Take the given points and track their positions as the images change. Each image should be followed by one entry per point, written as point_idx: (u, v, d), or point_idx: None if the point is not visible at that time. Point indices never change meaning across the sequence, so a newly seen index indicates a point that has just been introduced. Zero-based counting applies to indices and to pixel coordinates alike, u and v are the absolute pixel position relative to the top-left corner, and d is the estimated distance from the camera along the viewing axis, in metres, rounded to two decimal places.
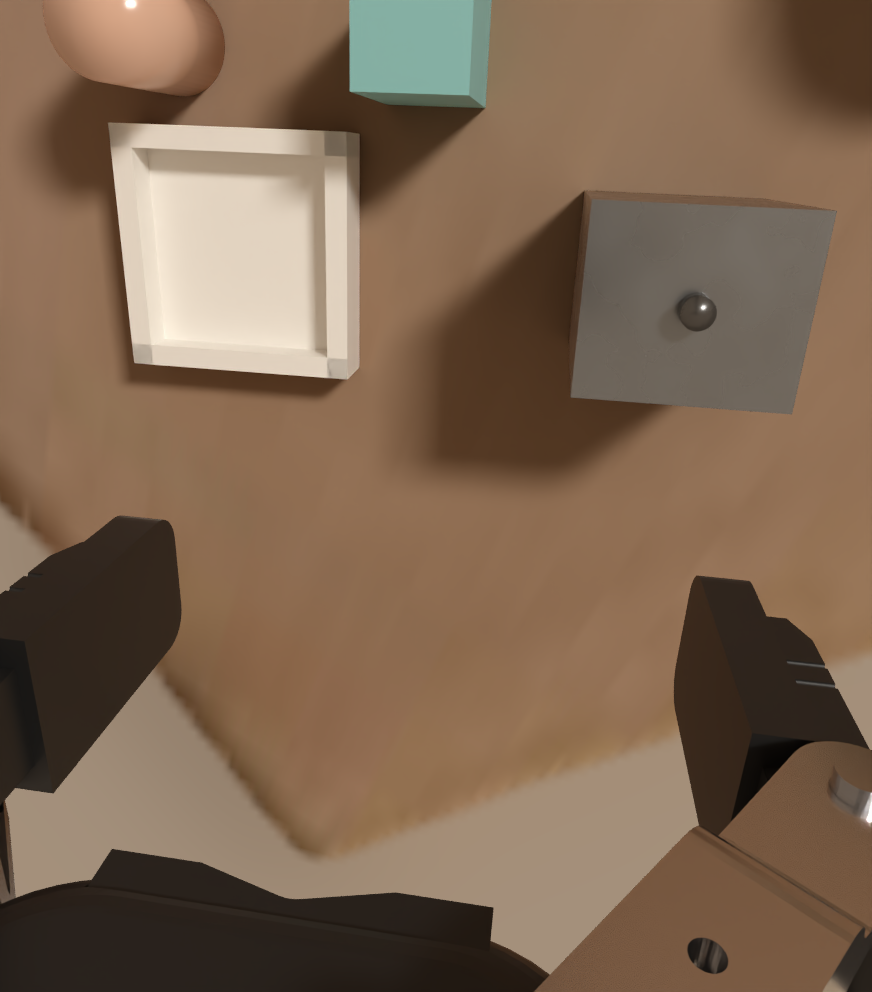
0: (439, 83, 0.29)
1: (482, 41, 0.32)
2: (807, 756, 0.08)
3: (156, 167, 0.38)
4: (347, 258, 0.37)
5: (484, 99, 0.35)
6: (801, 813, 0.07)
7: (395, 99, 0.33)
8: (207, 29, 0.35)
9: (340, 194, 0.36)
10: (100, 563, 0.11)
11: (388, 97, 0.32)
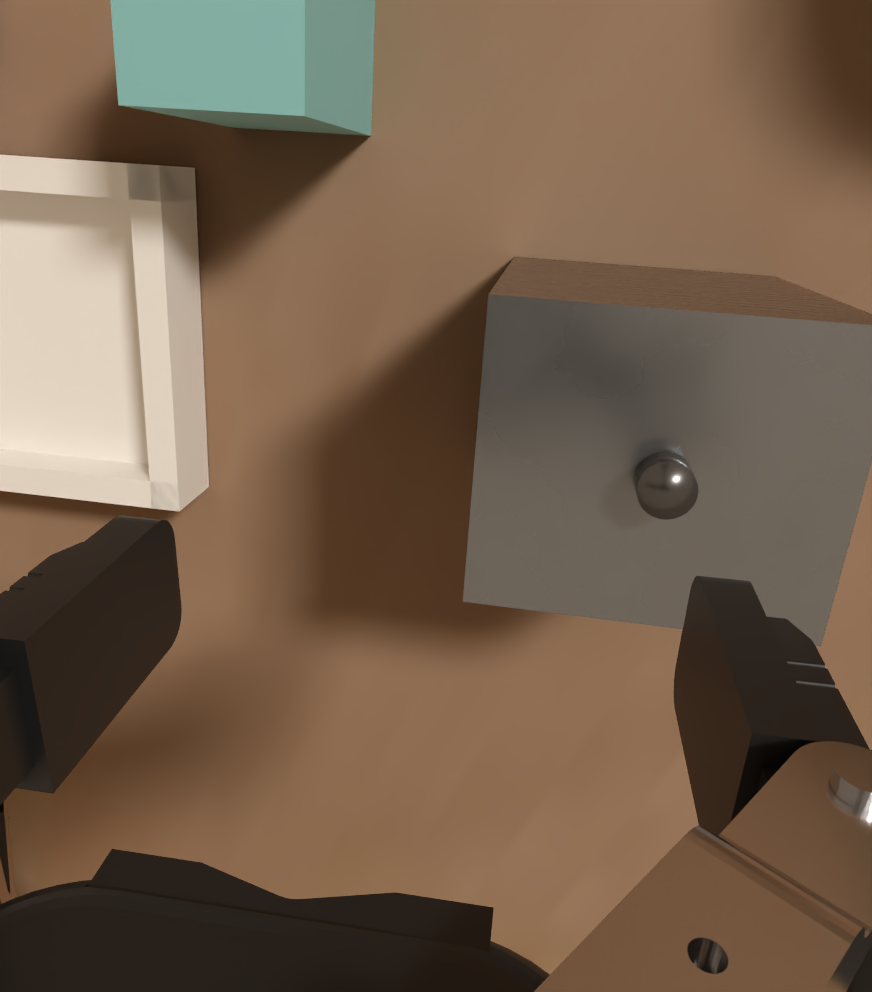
0: (257, 96, 0.18)
1: (349, 35, 0.21)
2: (807, 756, 0.08)
3: None
4: (171, 345, 0.25)
5: (366, 123, 0.24)
6: (801, 812, 0.07)
7: (220, 120, 0.22)
8: None
9: (154, 256, 0.24)
10: (100, 563, 0.11)
11: (202, 116, 0.21)
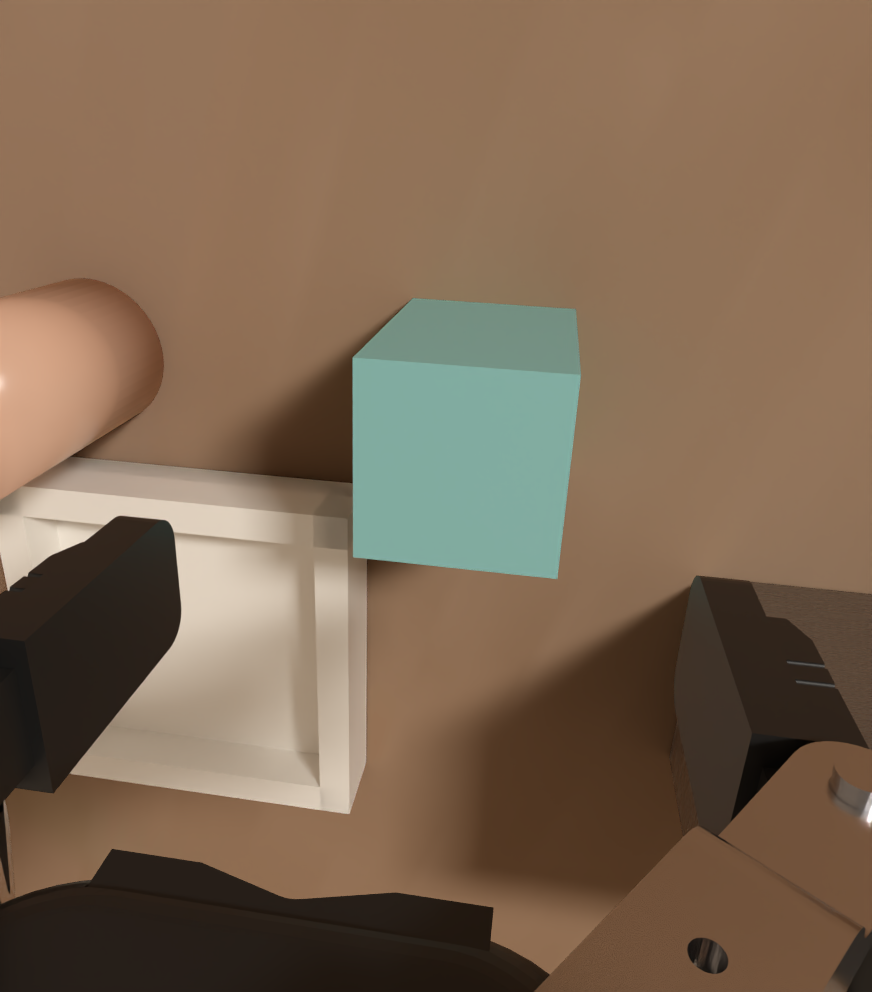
0: (506, 558, 0.17)
1: None
2: (806, 756, 0.08)
3: (67, 521, 0.26)
4: (349, 672, 0.25)
5: None
6: (801, 813, 0.07)
7: None
8: (132, 361, 0.22)
9: (338, 597, 0.23)
10: (100, 563, 0.11)
11: None
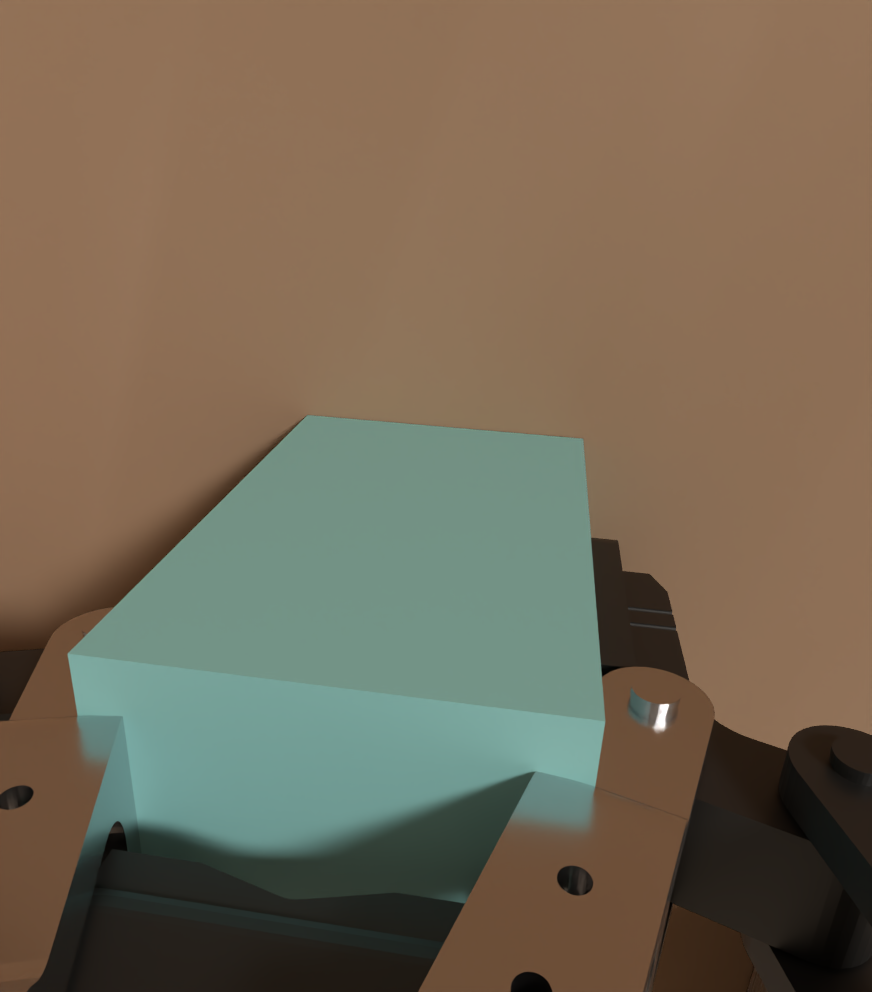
0: None
1: None
2: (608, 686, 0.08)
3: None
4: None
5: None
6: None
7: None
8: None
9: None
10: None
11: None
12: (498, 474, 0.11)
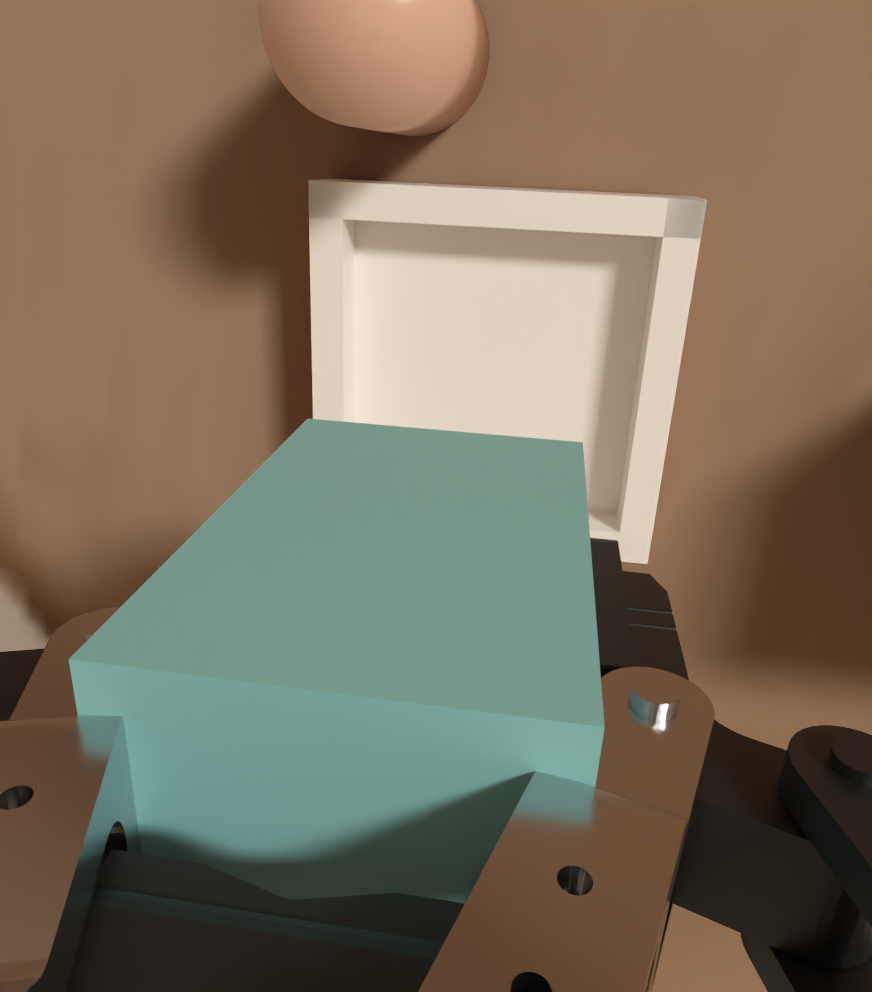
0: None
1: None
2: (607, 684, 0.08)
3: (367, 245, 0.25)
4: (674, 391, 0.24)
5: None
6: None
7: None
8: (483, 33, 0.21)
9: (680, 297, 0.22)
10: None
11: None
12: (498, 478, 0.11)
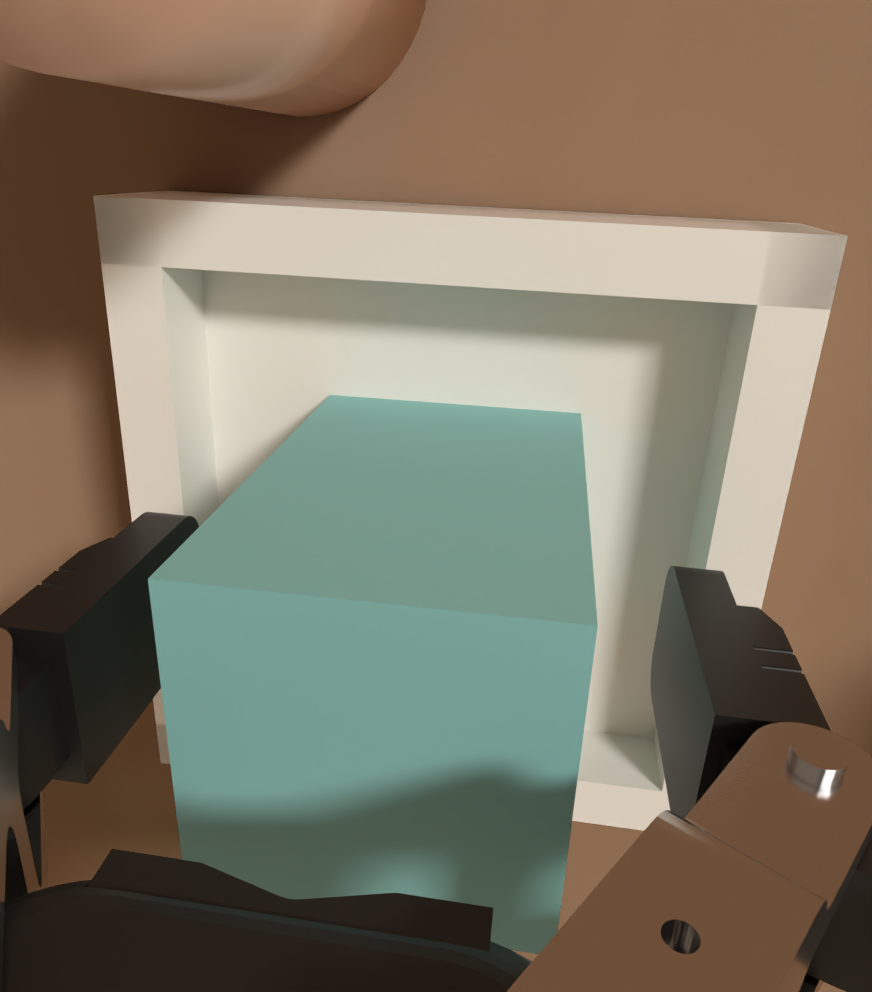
0: None
1: None
2: (764, 738, 0.08)
3: (225, 306, 0.14)
4: (766, 574, 0.13)
5: None
6: (756, 789, 0.07)
7: None
8: None
9: (785, 415, 0.12)
10: (131, 558, 0.11)
11: None
12: (505, 442, 0.12)
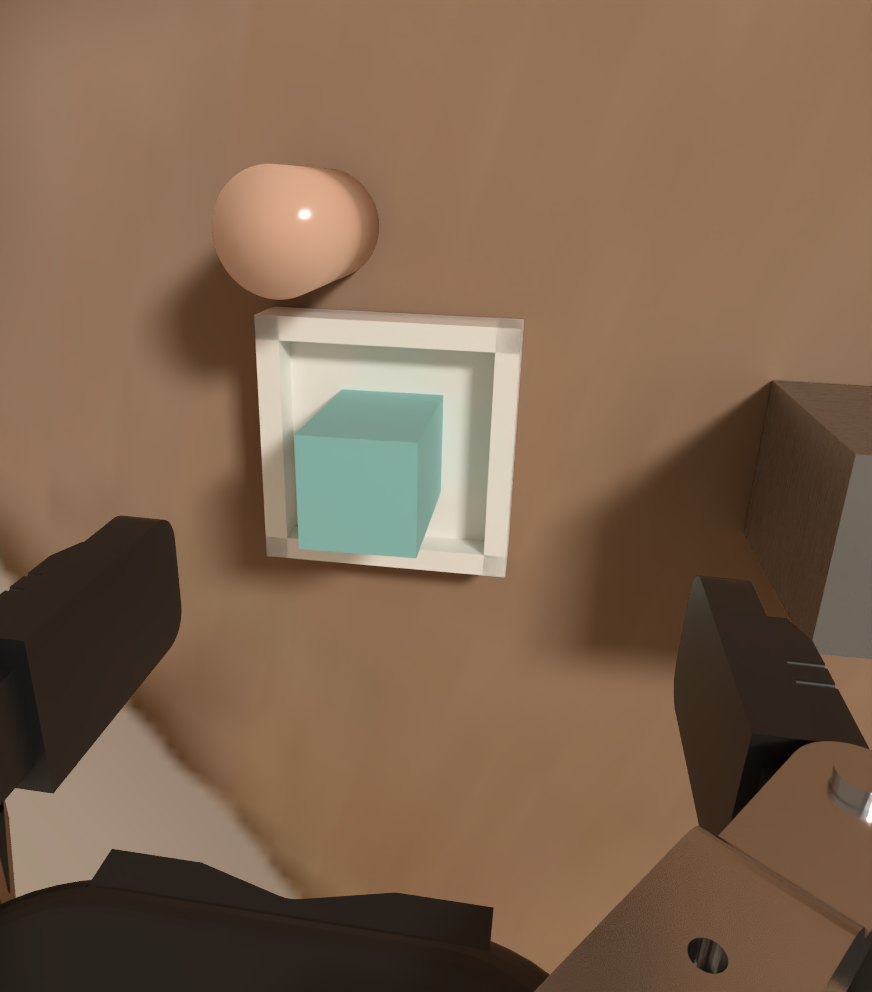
0: (386, 547, 0.30)
1: (432, 466, 0.33)
2: (807, 756, 0.08)
3: (298, 353, 0.35)
4: (513, 455, 0.34)
5: (439, 490, 0.35)
6: (800, 813, 0.07)
7: None
8: (369, 219, 0.32)
9: (510, 392, 0.33)
10: (100, 563, 0.11)
11: None
12: (408, 404, 0.33)
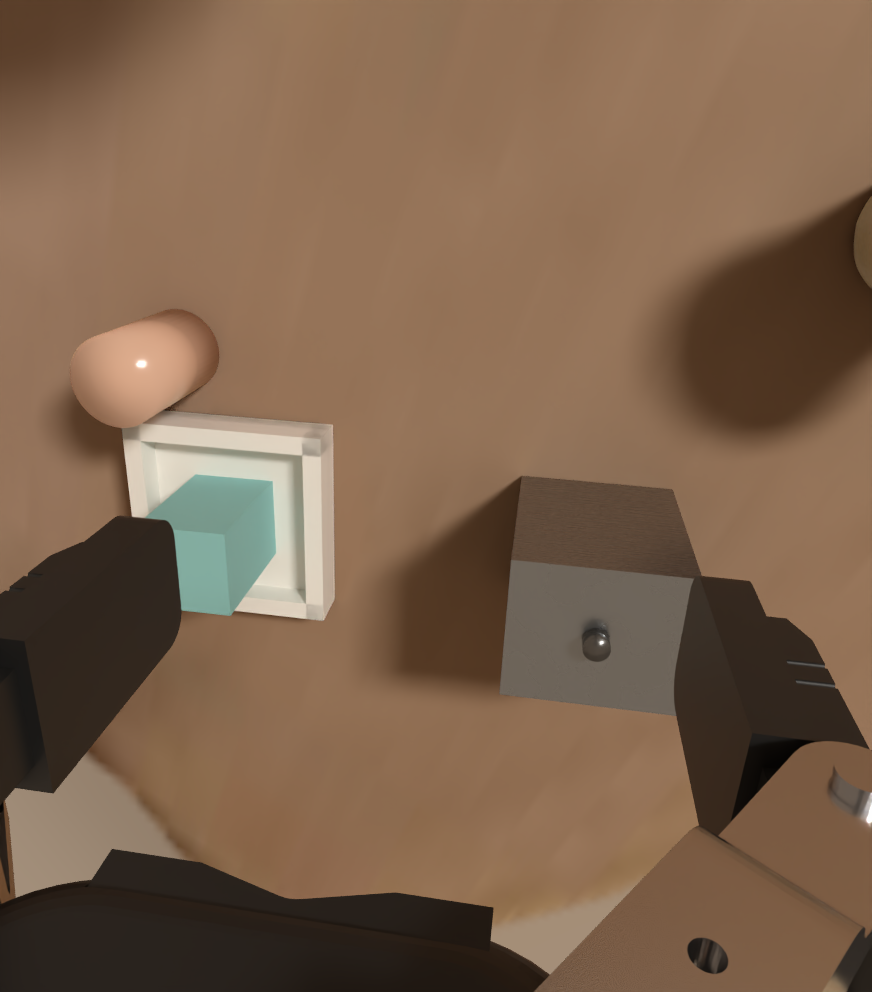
0: (208, 607, 0.40)
1: (255, 540, 0.43)
2: (807, 756, 0.08)
3: (161, 447, 0.45)
4: (322, 530, 0.44)
5: (272, 553, 0.46)
6: (801, 813, 0.07)
7: None
8: (204, 353, 0.41)
9: (315, 484, 0.43)
10: (100, 563, 0.11)
11: None
12: (239, 492, 0.43)
